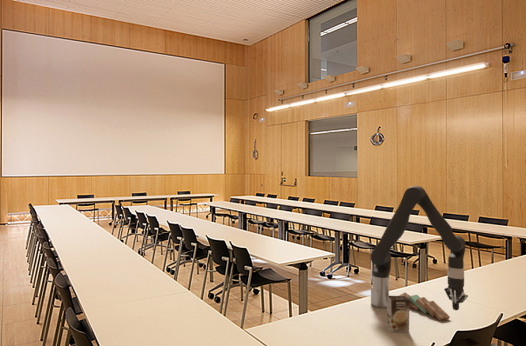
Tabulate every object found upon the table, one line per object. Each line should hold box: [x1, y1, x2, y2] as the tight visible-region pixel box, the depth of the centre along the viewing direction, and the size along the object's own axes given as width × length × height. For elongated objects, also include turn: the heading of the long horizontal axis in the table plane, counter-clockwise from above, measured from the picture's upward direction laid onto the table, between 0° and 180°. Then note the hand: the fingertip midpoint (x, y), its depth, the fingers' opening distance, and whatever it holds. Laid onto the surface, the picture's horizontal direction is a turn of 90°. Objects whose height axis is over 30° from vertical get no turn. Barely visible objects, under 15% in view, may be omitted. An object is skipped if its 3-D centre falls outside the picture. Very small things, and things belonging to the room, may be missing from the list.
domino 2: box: [409, 294, 429, 315], centre depth 209 cm, size 6×2×12 cm
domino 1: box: [398, 292, 420, 311], centre depth 214 cm, size 6×2×12 cm
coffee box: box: [386, 295, 411, 333], centre depth 184 cm, size 9×6×16 cm
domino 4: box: [424, 300, 450, 322], centre depth 200 cm, size 6×2×12 cm
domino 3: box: [416, 297, 435, 318], centre depth 205 cm, size 6×2×12 cm
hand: (455, 309), depth 188 cm, fingers closed
